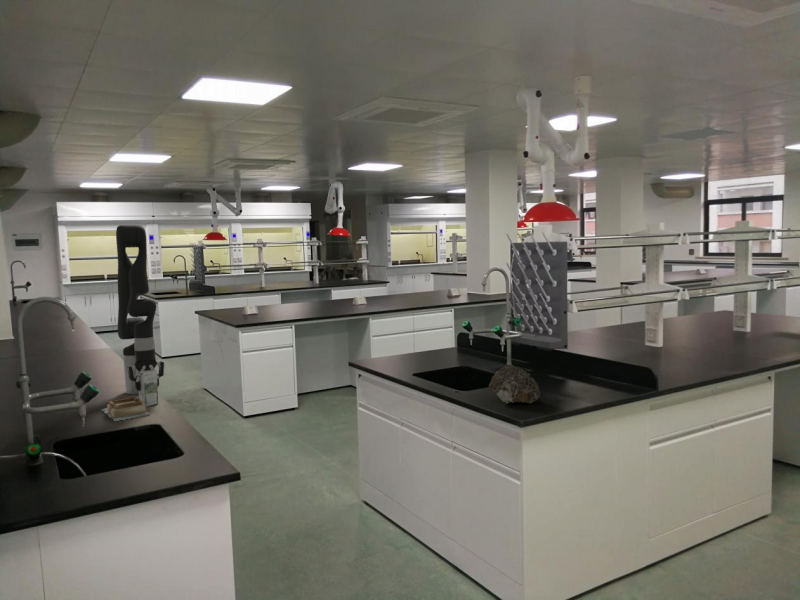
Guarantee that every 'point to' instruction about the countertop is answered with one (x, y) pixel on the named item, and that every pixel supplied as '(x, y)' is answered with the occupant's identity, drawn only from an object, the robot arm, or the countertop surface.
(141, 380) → the syrup box
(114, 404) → the build plinth
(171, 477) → the countertop surface
